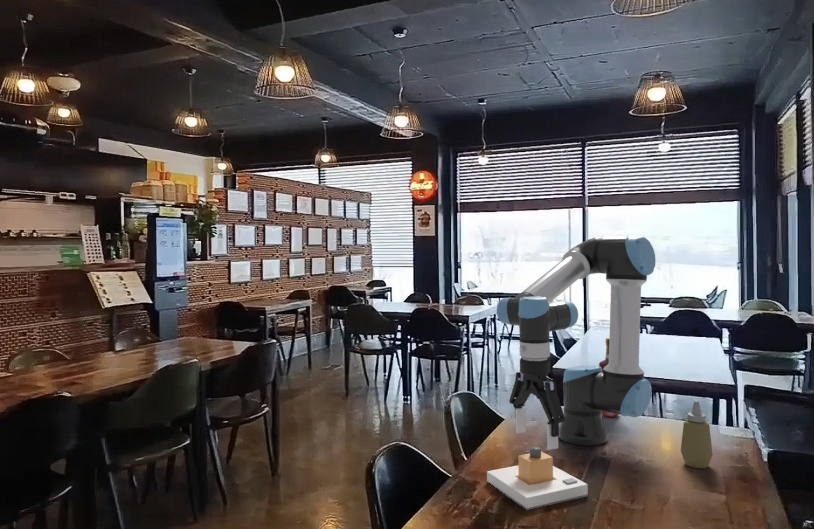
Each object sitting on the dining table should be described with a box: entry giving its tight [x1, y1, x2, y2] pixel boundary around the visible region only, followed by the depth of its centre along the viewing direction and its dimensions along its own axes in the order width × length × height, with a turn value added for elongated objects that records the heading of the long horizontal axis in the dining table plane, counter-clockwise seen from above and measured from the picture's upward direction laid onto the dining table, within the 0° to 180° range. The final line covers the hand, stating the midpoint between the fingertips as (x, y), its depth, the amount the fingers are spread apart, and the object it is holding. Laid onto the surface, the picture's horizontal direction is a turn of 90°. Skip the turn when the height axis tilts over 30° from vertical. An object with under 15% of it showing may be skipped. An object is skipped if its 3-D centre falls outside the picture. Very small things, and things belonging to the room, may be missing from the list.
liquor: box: [598, 337, 620, 419], centre depth 213 cm, size 7×7×28 cm
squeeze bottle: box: [680, 400, 714, 469], centre depth 165 cm, size 8×8×18 cm
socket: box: [486, 464, 589, 511], centre depth 151 cm, size 18×18×3 cm
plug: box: [517, 446, 554, 485], centre depth 151 cm, size 5×7×10 cm
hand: (536, 440), depth 150 cm, fingers open, 13 cm apart
